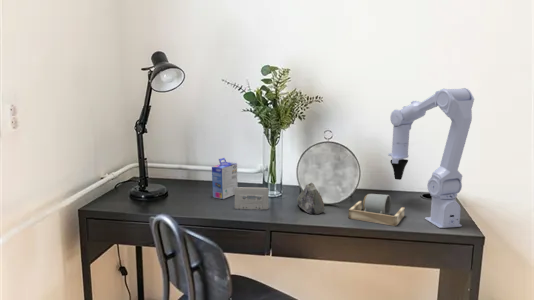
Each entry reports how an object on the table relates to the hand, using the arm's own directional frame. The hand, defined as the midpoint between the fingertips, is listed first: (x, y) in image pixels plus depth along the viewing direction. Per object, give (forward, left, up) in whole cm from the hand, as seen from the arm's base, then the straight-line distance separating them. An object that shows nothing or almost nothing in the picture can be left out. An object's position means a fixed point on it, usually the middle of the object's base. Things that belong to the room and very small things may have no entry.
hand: (398, 179), depth 183 cm
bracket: (-13, +14, -9) cm, 21 cm away
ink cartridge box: (+22, +61, -10) cm, 66 cm away
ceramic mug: (-12, +14, -10) cm, 21 cm away
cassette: (+4, +54, -10) cm, 55 cm away
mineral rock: (0, +33, -10) cm, 35 cm away
